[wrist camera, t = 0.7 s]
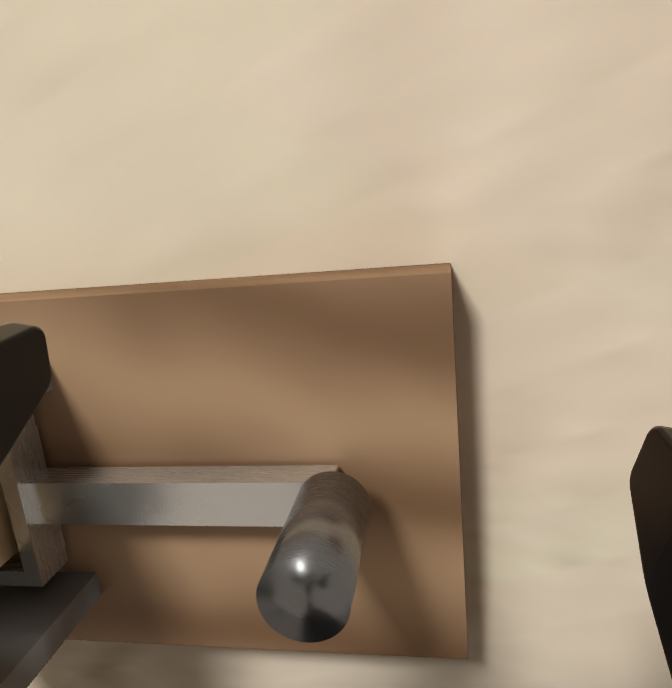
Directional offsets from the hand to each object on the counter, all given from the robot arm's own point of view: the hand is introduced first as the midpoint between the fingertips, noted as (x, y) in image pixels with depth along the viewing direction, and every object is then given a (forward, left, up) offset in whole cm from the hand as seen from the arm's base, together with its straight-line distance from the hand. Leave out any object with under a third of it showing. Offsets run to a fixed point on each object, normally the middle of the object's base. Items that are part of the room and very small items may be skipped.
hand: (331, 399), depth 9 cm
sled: (-7, +10, -10) cm, 16 cm away
